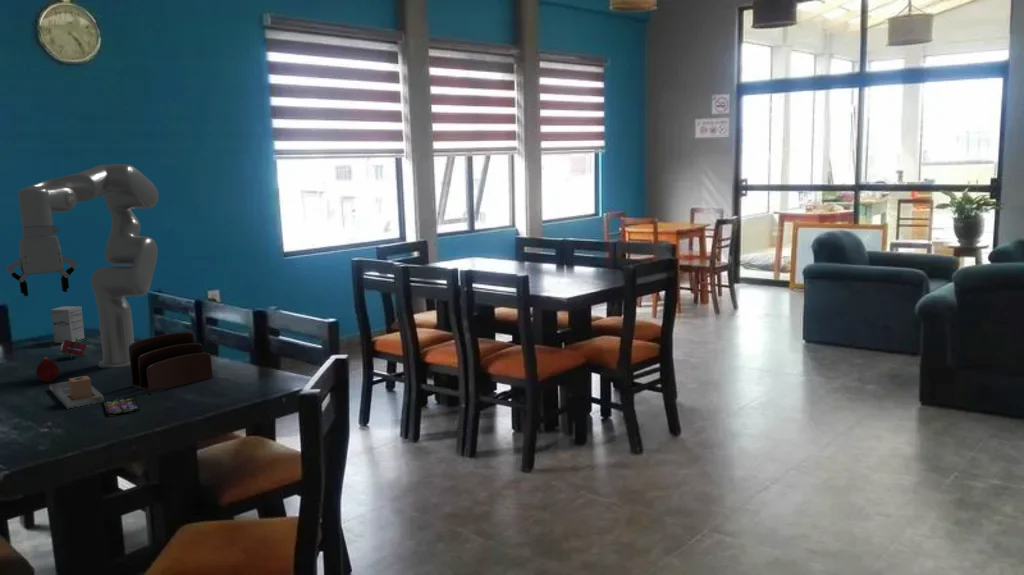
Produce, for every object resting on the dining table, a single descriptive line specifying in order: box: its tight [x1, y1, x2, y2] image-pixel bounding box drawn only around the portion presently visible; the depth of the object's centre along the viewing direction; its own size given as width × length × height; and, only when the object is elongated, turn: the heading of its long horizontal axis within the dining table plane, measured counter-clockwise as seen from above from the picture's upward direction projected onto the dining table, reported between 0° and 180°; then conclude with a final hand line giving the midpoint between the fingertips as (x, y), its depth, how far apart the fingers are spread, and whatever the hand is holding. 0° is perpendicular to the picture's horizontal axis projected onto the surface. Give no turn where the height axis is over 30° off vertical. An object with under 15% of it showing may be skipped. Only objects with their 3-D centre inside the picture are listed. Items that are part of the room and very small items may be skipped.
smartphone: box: [103, 396, 140, 416], centre depth 218 cm, size 8×1×15 cm
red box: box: [60, 337, 88, 359], centre depth 277 cm, size 7×7×8 cm
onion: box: [35, 356, 60, 383], centre depth 244 cm, size 6×6×8 cm
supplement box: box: [50, 305, 85, 344], centre depth 302 cm, size 7×7×13 cm
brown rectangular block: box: [68, 375, 92, 400], centre depth 223 cm, size 4×4×6 cm
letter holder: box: [129, 331, 214, 392], centre depth 240 cm, size 10×20×14 cm, turn 141°
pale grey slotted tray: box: [49, 380, 105, 410], centre depth 229 cm, size 9×24×2 cm, turn 38°
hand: (45, 293), depth 231 cm, fingers open, 9 cm apart
